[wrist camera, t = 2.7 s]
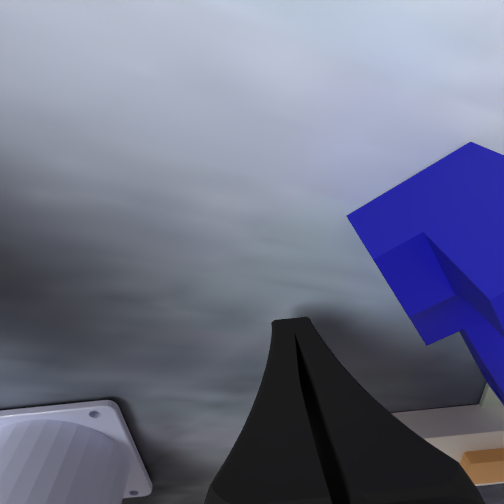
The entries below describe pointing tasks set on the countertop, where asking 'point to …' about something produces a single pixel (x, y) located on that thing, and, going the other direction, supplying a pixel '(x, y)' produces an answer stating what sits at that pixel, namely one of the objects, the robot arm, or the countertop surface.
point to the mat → (489, 398)
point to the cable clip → (446, 252)
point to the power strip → (464, 437)
